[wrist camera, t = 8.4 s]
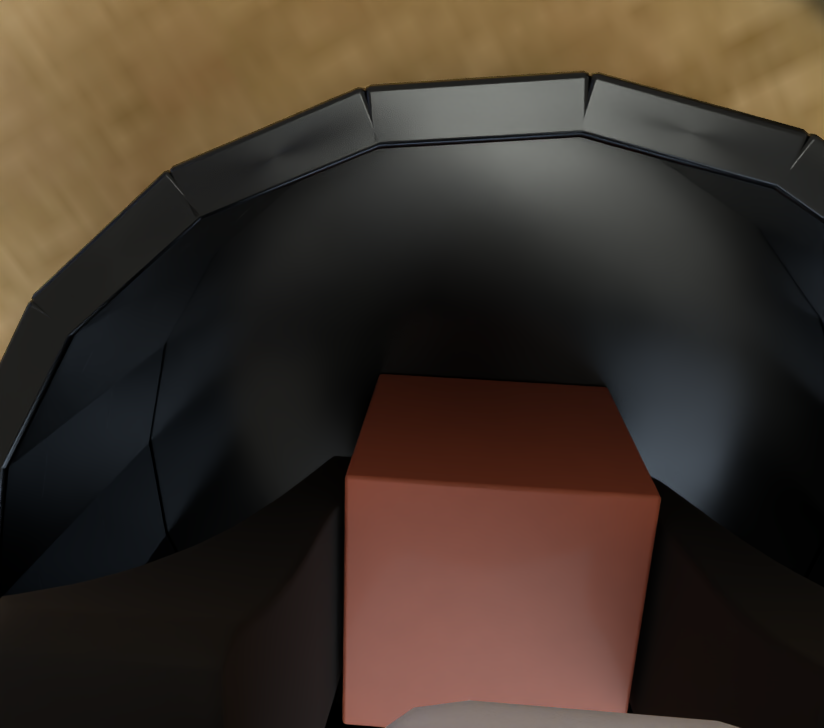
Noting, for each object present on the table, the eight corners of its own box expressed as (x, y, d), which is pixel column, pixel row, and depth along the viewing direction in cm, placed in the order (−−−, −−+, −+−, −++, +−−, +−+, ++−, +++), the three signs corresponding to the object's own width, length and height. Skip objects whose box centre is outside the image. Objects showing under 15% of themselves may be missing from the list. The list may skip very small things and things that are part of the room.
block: (374, 567, 15) (341, 725, 11) (379, 372, 14) (344, 476, 10) (583, 582, 15) (622, 750, 11) (608, 385, 13) (662, 497, 10)
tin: (189, 753, 17) (70, 1025, 12) (68, 114, 13) (-195, 121, 8) (822, 759, 16) (988, 1066, 11) (918, 60, 12) (1263, 25, 7)
